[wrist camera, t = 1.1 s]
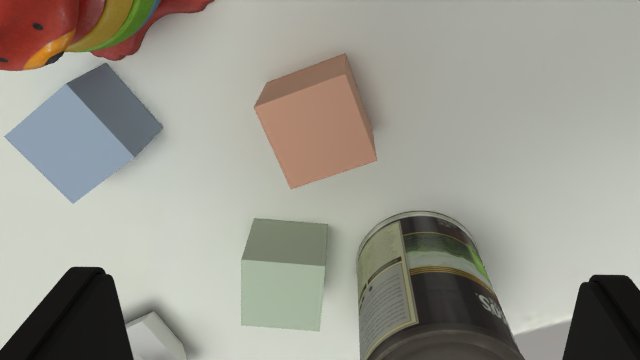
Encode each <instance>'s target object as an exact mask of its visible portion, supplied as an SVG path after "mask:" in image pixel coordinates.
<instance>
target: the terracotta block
mask: <svg viewBox="0 0 640 360" xmlns="http://www.w3.org/2000/svg"><path fill="white" fill-rule="evenodd" d="M254 109H255V111H256V113H257V115H258V118H259V120H260V122H261V124H262V126H263V129H264V131H265V133H266V135H267V138H268V140H269V142H270V144H271V146H272V149H273V151H274V153H275V155H276V157H277V160H278V162H279V164H280V166H281V169H282V171H283V173H284V175H285V177H286V180H287V182H288V184H289V186H290V188H291V189H293V188H296V187H299V186H302V185H305V184H308V183H311V182H314V181H317V180H320V179H323V178H326V177H329V176H332V175H335V174H338V173H341V172H344V171H347V170H350V169H353V168H356V167H359V166H362V165H365V164H368V163H371V162H374V161H377V157H376V151H375V144H374V138H373V131H372V127H371V125H370V122H369V119H368V116H367V114H366V111H365V108H364V105H363V102H362V100H361V97H360V94H359V91H358V89H357V86H356V83H355V80H354V77H353V75H352V72H351V69H350V66H349V64H348V61H347V58H346V55H345V54H342V55H339V56H337V57H334V58H331V59H329V60H326V61H323V62H321V63H318V64H315V65H313V66H310V67H307V68H305V69H302V70H299V71H297V72H294V73H292V74H289V75H286V76H284V77H281V78H278V79H276V80H273V81H270V82H268V83H266V85H265V87H264V89H263V91H262V93H261V95H260V97H259V99H258V100H257V102H256V104H255V106H254Z"/></svg>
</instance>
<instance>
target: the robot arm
mask: <svg viewBox="0 0 640 360" xmlns="http://www.w3.org/2000/svg"><path fill="white" fill-rule="evenodd" d="M0 360H134V358H133V354H132V350H131V346H130V342H129V338H128V334H127V331H126V327H125V323H124V319H123V315H122V311H121V307H120V303H119V299H118V295H117V291H116V287H115V283H114V280H113V277H112V276H111V275H109V274H106V273H105V271H104V270H103V268H100V267H72V268H70V269H69V270H68V271H67V272H66V273H65V274H64V275H63V277H62V278H61V279H60V280H59V281H58V283H57V284H56V285H55V286H54V287H53V289H52V290H51V291H50V292H49V293H48V294H47V296H46V297H45V298H44V299H43V300H42V302H41V303H40V304H39V305H38V306H37V307H36V309H35V310H34V311H33V312H32V313H31V315H30V316H29V317H28V318H27V319H26V320H25V322H24V323H23V324H22V325H21V326H20V328H19V329H18V330H17V331H16V332H15V333H14V335H13V336H12V337H11V338H10V339H9V341H8V342H7V343H6V344H5V345H4V347H3V348H2V349H1V350H0ZM563 360H640V290H639V289H638V288H637V287H636V285H635V284H634V283H633V281H632V280H631V279H630V278H629V277H628V276H625V275H593V276H592V277H591V278H590V280H589V282H583V283H582V284H581V285H580V288H579V292H578V296H577V300H576V305H575V309H574V313H573V317H572V322H571V326H570V330H569V334H568V339H567V343H566V347H565V351H564V356H563Z"/></svg>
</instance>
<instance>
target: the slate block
mask: <svg viewBox="0 0 640 360" xmlns="http://www.w3.org/2000/svg"><path fill="white" fill-rule="evenodd" d="M162 128H163V126H162V125H161V124H160V123H159V122H158V121H157V120H156V118H155V117H154V116H153V115H152V114H151V113H150V112H149V111H148V109H147V108H146V107H145V106H144V105H143V104H142V103H141V102H140V100H139V99H138V98H137V97H136V96H135V95H134V94H133V92H132V91H131V90H130V89H129V88H128V87H127V86H126V85H125V83H124V82H123V81H122V80H121V79H120V78H119V77H118V76H117V74H116V73H115V72H114V71H113V70H112V69H111V68H110V67H109V65H108V64H107V63H104V64H102V65H101V66H99V67H97V68H95V69H93V70H91V71H89V72H87V73H85V74H84V75H82V76H80V77H78V78H76V79H74V80H72V81H70V82H68V83H67V84H65V85H64V86H63V87H62V88H61V89H59V90H58V91H57V92H56V93H55V94H53V95H52V96H51V97H50V98H49V99H48V100H46V101H45V102H44V103H43V104H42V105H41V106H39V107H38V108H37V109H36V110H35V111H34V112H32V113H31V114H30V115H29V116H28V117H27V118H25V119H24V120H23V121H22V122H21V123H20V124H18V125H17V126H16V127H15V128H14V129H12V130H11V131H10V132H9V133H8V134H7V135H5V136H4V137H5V138H6V139H7V140H8V141H9V142H10V143H11V144H12V145H13V146H14V147H15V148H16V149H17V150H18V151H19V152H20V153H21V154H22V155H23V156H24V157H25V158H26V159H27V160H29V161H30V162H31V163H32V164H33V165H34V166H35V167H36V168H37V169H38V170H39V171H40V172H41V173H42V174H43V175H44V176H45V177H46V178H47V179H48V180H49V181H50V182H51V183H52V184H53V185H54V186H55V187H56V188H57V189H58V190H59V191H60V192H61V193H62V194H63V195H64V196H65V197H66V198H67V199H68V200H69V201H70V202H72V203H75V202H76V201H77V200H79V199H80V198H81V197H83V196H84V195H85V194H87V193H88V192H89V191H91V190H92V189H93V188H95V187H96V186H97V185H99V184H100V183H101V182H103V181H104V180H105V179H107V178H108V177H109V176H111V175H112V174H113V173H115V172H116V171H117V170H119V169H120V168H121V167H123V166H124V165H125V164H127V163H128V162H129V161H131V160H132V159H133V158H135V157H136V155H137V154H138V153H139V152H140V151H141V150H142V149H143V148H144V147H145V146H146V145H147V144H148V143H149V142H150V141H151V140H152V139H153V138H154V136H155V135H156V134H157V133H158V132H159V131H160V130H161V129H162Z"/></svg>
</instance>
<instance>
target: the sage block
mask: <svg viewBox="0 0 640 360" xmlns="http://www.w3.org/2000/svg"><path fill="white" fill-rule="evenodd" d="M327 225H328V224H318V223H306V222H293V221H281V220H268V219H256V218H254V221H253V224H252V228H251V231H250V234H249V237H248V240H247V244H246V247H245V250H244V253H243V256H242V260H241V325H246V326H258V327H270V328H283V329H295V330H308V331H320V322H321V311H322V299H323V288H324V276H325V264H326V245H327Z"/></svg>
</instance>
